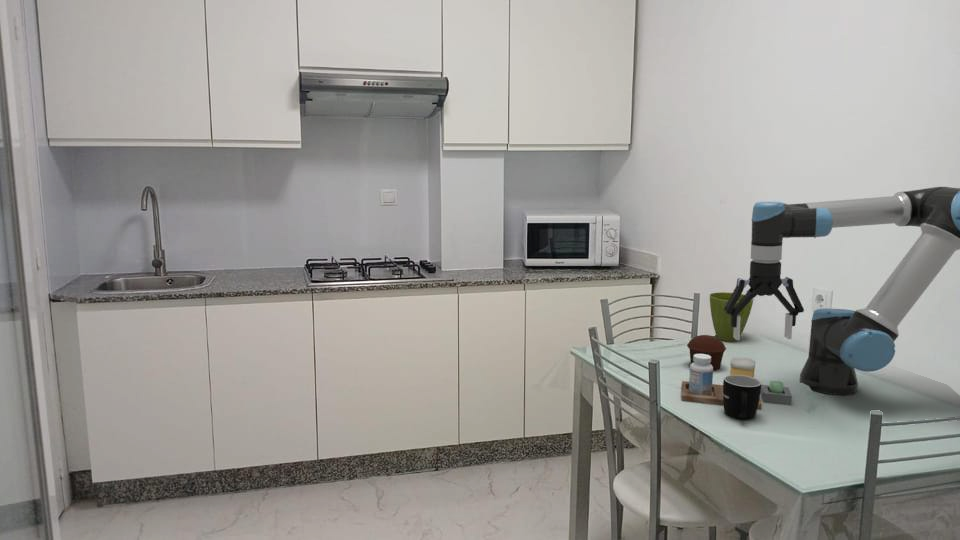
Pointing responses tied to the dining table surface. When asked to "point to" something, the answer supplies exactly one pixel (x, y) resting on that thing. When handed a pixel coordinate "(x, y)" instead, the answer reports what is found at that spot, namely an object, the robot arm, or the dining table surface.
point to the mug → (741, 396)
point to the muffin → (707, 349)
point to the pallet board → (713, 399)
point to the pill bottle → (701, 375)
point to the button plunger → (776, 387)
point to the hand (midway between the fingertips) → (762, 338)
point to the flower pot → (726, 316)
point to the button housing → (776, 396)
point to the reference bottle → (742, 366)
